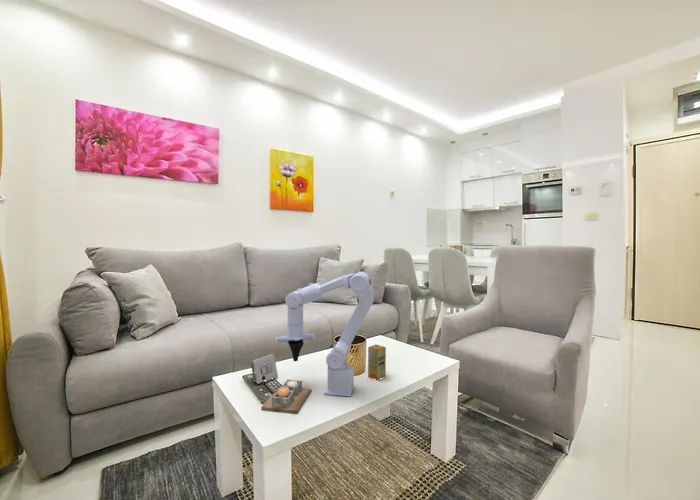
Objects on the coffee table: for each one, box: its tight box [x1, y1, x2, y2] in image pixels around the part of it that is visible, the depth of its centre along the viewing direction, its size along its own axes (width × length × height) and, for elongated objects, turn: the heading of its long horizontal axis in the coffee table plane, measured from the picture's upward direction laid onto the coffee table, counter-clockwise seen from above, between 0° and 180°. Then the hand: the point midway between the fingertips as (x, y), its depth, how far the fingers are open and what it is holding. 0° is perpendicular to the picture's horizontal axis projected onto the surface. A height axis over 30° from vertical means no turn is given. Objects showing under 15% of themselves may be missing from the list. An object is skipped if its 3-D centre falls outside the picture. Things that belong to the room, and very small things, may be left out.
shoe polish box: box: [367, 344, 387, 381], centre depth 124 cm, size 5×5×12 cm
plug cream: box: [287, 379, 297, 387], centre depth 109 cm, size 4×4×3 cm
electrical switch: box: [250, 353, 279, 384], centre depth 121 cm, size 9×5×9 cm, turn 141°
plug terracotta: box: [277, 386, 289, 398], centre depth 101 cm, size 4×4×3 cm
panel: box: [260, 379, 312, 415], centre depth 105 cm, size 12×15×4 cm
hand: (295, 360), depth 115 cm, fingers closed
